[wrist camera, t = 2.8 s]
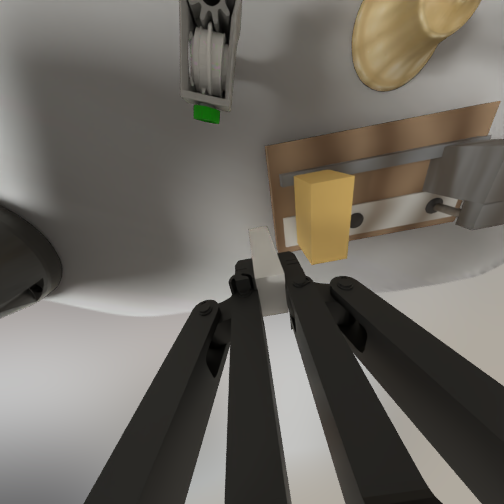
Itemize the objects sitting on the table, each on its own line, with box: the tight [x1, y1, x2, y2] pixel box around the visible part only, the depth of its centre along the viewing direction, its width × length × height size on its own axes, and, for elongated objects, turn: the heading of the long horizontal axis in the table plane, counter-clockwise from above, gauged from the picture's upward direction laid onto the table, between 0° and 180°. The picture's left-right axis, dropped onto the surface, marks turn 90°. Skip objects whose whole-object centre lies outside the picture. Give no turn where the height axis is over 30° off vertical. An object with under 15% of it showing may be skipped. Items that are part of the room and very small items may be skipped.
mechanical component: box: [179, 0, 242, 124], centre depth 13 cm, size 3×10×10 cm, turn 170°
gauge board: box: [265, 101, 504, 253], centre depth 20 cm, size 24×13×8 cm, turn 100°
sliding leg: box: [294, 169, 355, 265], centre depth 20 cm, size 4×8×6 cm, turn 10°
